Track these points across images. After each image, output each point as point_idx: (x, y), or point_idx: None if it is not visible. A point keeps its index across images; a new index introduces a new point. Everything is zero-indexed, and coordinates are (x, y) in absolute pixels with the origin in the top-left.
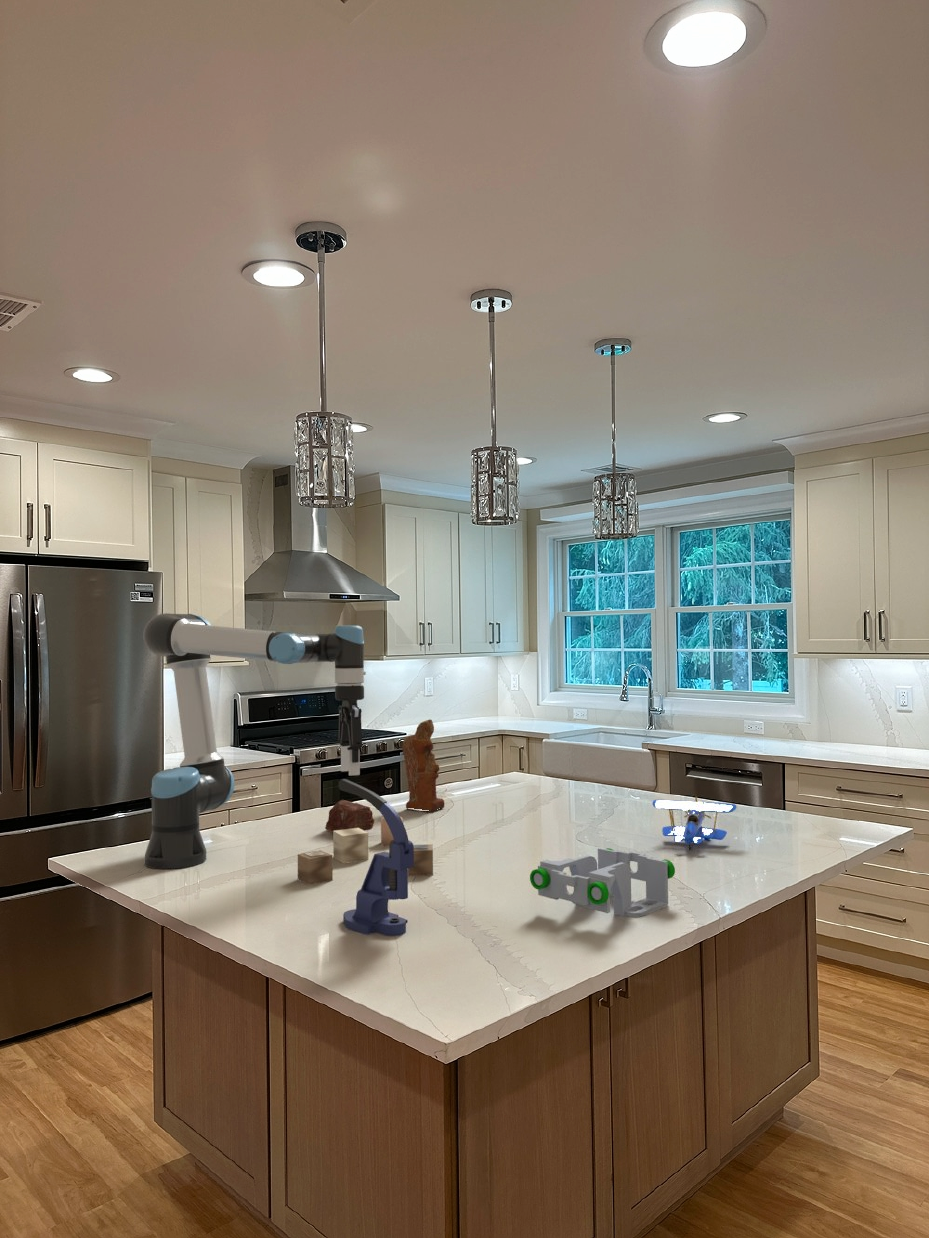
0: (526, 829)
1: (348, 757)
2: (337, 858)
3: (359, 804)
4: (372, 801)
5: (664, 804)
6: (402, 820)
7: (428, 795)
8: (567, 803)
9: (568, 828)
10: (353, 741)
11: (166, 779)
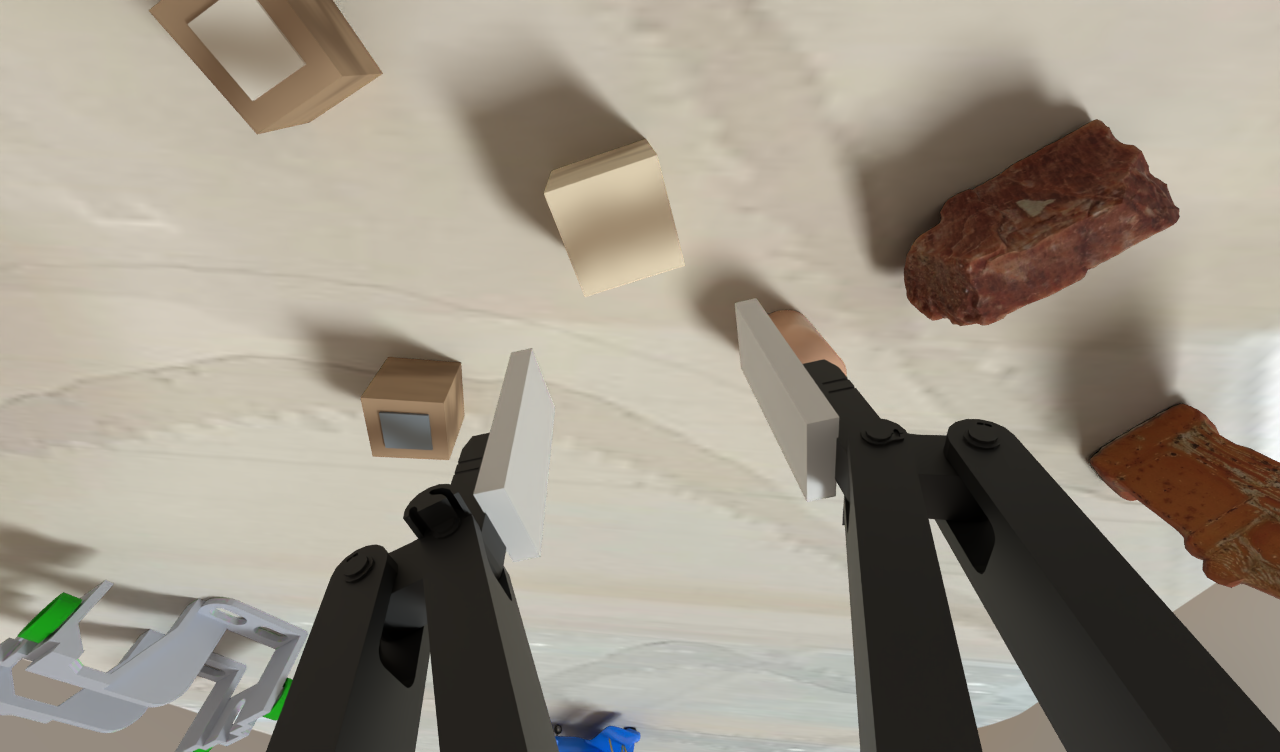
0: (786, 592)
1: (768, 408)
2: (602, 153)
3: (1047, 291)
4: None
5: None
6: None
7: (1148, 483)
8: (965, 657)
9: (761, 640)
10: (317, 627)
11: None
